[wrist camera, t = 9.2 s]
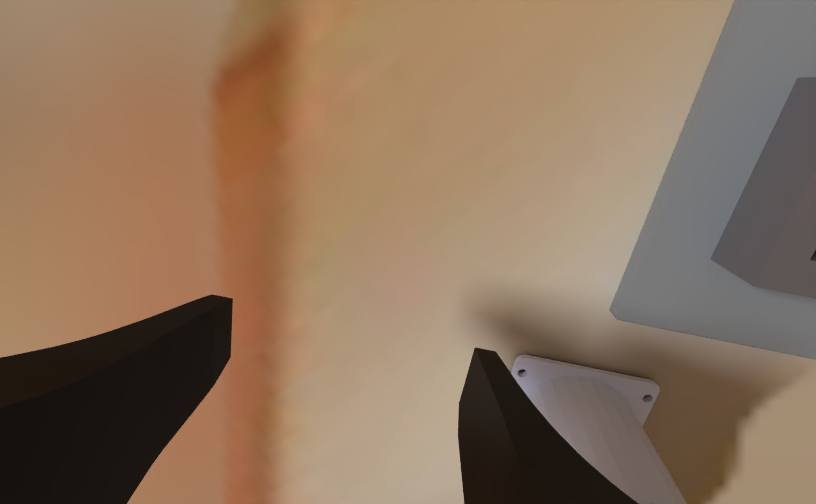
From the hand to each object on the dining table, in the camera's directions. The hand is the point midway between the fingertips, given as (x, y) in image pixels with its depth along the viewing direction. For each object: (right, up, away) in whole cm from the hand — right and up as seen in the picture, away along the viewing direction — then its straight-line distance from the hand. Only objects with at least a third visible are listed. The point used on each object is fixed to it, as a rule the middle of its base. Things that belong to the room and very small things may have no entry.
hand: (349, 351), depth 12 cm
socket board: (+21, +6, +7) cm, 23 cm away
